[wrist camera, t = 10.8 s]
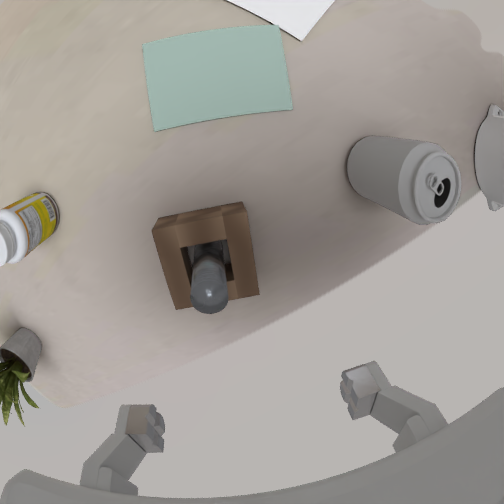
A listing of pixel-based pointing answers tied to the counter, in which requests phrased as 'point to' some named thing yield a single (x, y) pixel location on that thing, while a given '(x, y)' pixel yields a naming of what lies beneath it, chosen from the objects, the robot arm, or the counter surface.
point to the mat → (216, 75)
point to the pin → (209, 278)
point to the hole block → (203, 231)
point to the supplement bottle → (26, 226)
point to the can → (406, 177)
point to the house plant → (17, 368)
